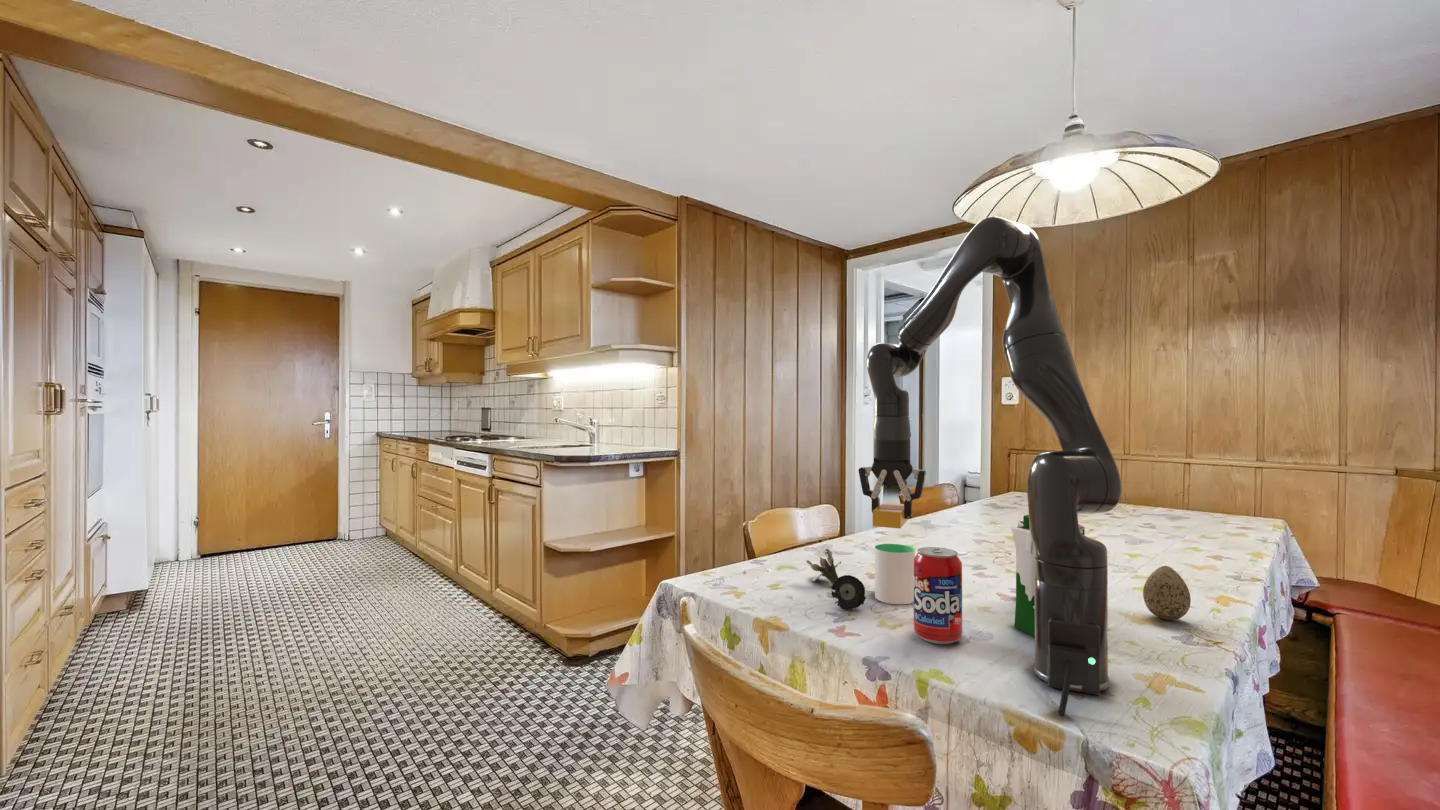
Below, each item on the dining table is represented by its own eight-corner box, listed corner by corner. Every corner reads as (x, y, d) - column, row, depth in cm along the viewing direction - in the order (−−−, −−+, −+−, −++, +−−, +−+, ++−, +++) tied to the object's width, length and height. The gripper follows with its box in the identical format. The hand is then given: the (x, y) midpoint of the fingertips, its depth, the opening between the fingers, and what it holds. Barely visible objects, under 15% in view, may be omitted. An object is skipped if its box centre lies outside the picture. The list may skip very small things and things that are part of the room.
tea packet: (900, 528, 119) (900, 512, 119) (872, 526, 121) (872, 510, 121) (908, 519, 130) (908, 504, 130) (882, 517, 132) (882, 502, 132)
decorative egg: (1137, 611, 116) (1137, 560, 116) (1180, 615, 114) (1180, 562, 114) (1151, 623, 109) (1151, 569, 109) (1198, 628, 107) (1197, 572, 107)
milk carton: (1045, 621, 110) (1045, 513, 110) (1087, 639, 102) (1087, 522, 102) (1006, 625, 108) (1005, 515, 108) (1045, 644, 99) (1045, 525, 99)
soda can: (959, 632, 105) (959, 547, 105) (965, 649, 97) (964, 557, 97) (912, 627, 107) (912, 544, 107) (914, 644, 99) (914, 554, 99)
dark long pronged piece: (826, 617, 116) (811, 566, 117) (814, 595, 138) (802, 552, 140) (870, 605, 116) (855, 554, 117) (851, 584, 138) (839, 542, 139)
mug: (865, 586, 132) (865, 539, 132) (901, 586, 132) (901, 539, 132) (881, 604, 120) (881, 552, 120) (920, 604, 120) (920, 552, 120)
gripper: (853, 437, 126) (853, 517, 126) (925, 439, 120) (925, 523, 119) (861, 436, 132) (861, 511, 132) (929, 437, 126) (929, 517, 126)
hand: (891, 516), depth 126 cm, fingers closed on tea packet, 5 cm apart
